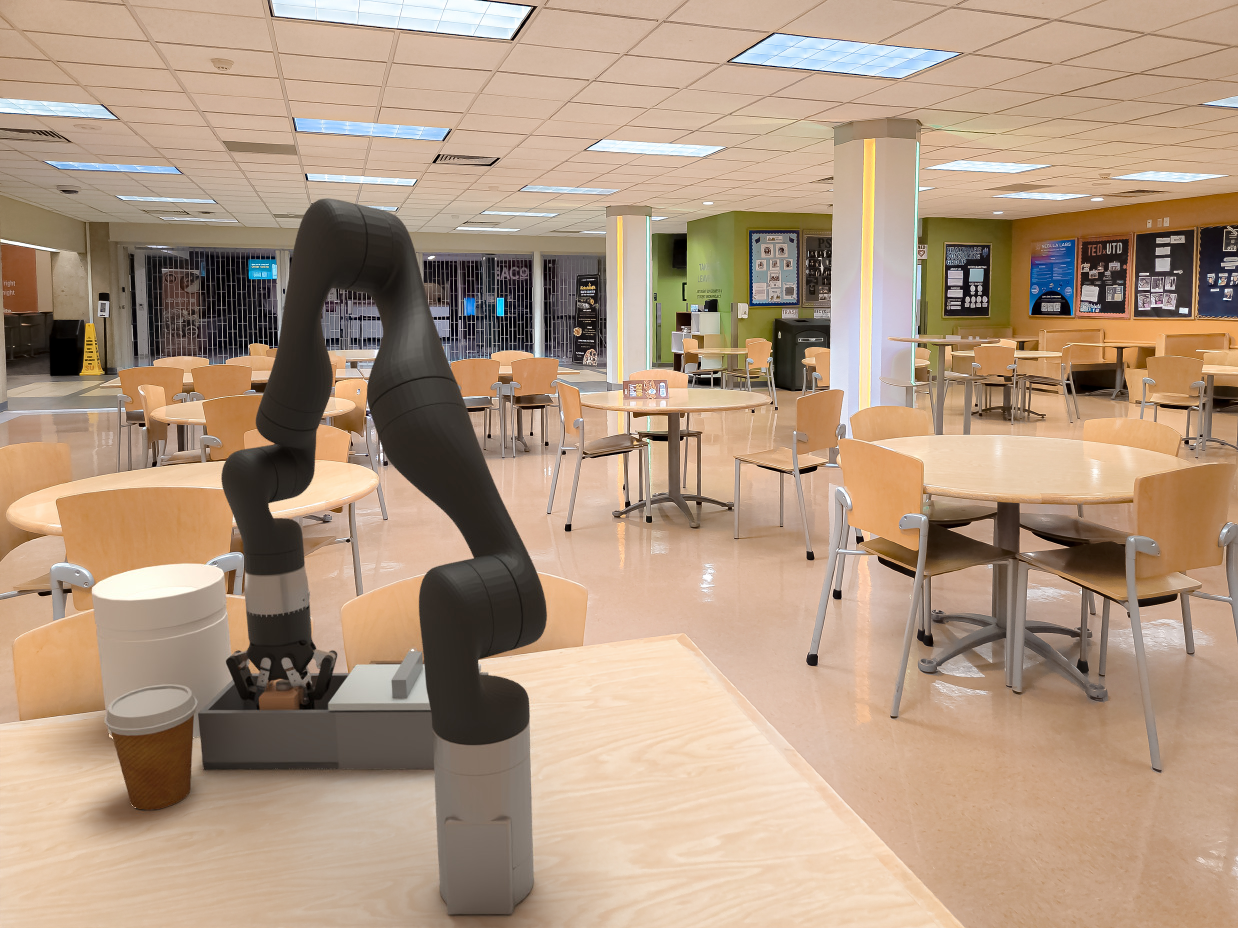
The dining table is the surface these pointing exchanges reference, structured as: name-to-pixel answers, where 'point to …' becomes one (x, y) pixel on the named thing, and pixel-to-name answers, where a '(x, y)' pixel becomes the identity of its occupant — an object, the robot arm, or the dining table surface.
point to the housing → (312, 735)
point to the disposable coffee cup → (154, 743)
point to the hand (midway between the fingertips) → (287, 727)
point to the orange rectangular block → (280, 697)
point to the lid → (385, 687)
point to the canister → (163, 631)
